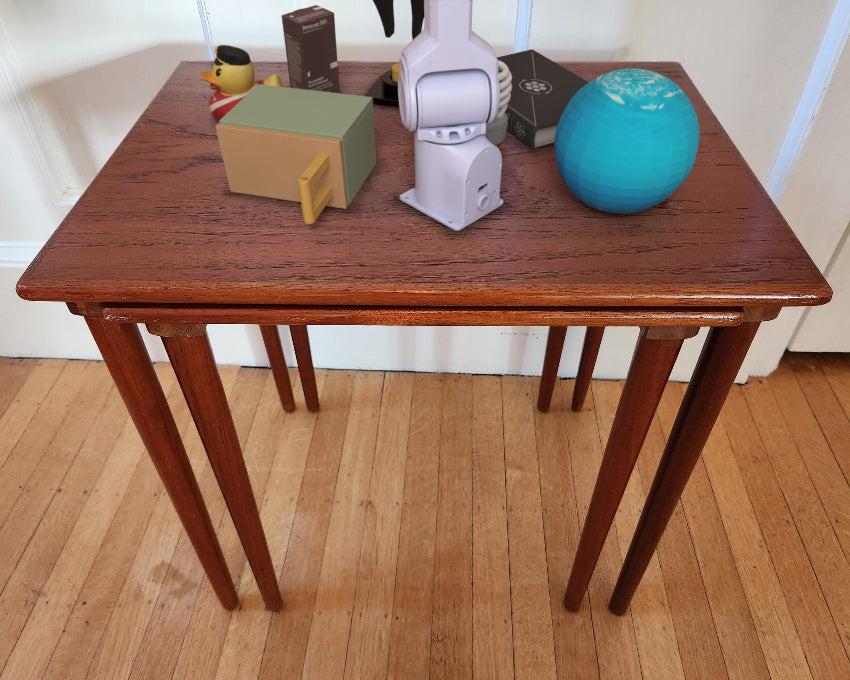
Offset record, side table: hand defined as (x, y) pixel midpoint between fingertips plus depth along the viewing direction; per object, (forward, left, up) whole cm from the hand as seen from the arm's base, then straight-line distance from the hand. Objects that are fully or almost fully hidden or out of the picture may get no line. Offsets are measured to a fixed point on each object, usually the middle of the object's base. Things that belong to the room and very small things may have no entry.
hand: (403, 36), depth 94 cm
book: (-15, -10, -9) cm, 20 cm away
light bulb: (-20, +5, -9) cm, 22 cm away
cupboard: (-8, +24, -8) cm, 27 cm away
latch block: (0, 0, -8) cm, 8 cm away
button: (0, 0, -6) cm, 6 cm away
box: (+8, +10, -9) cm, 15 cm away
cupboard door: (-12, +31, -8) cm, 35 cm away
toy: (+10, +20, -9) cm, 24 cm away
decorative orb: (-38, +3, -9) cm, 39 cm away
